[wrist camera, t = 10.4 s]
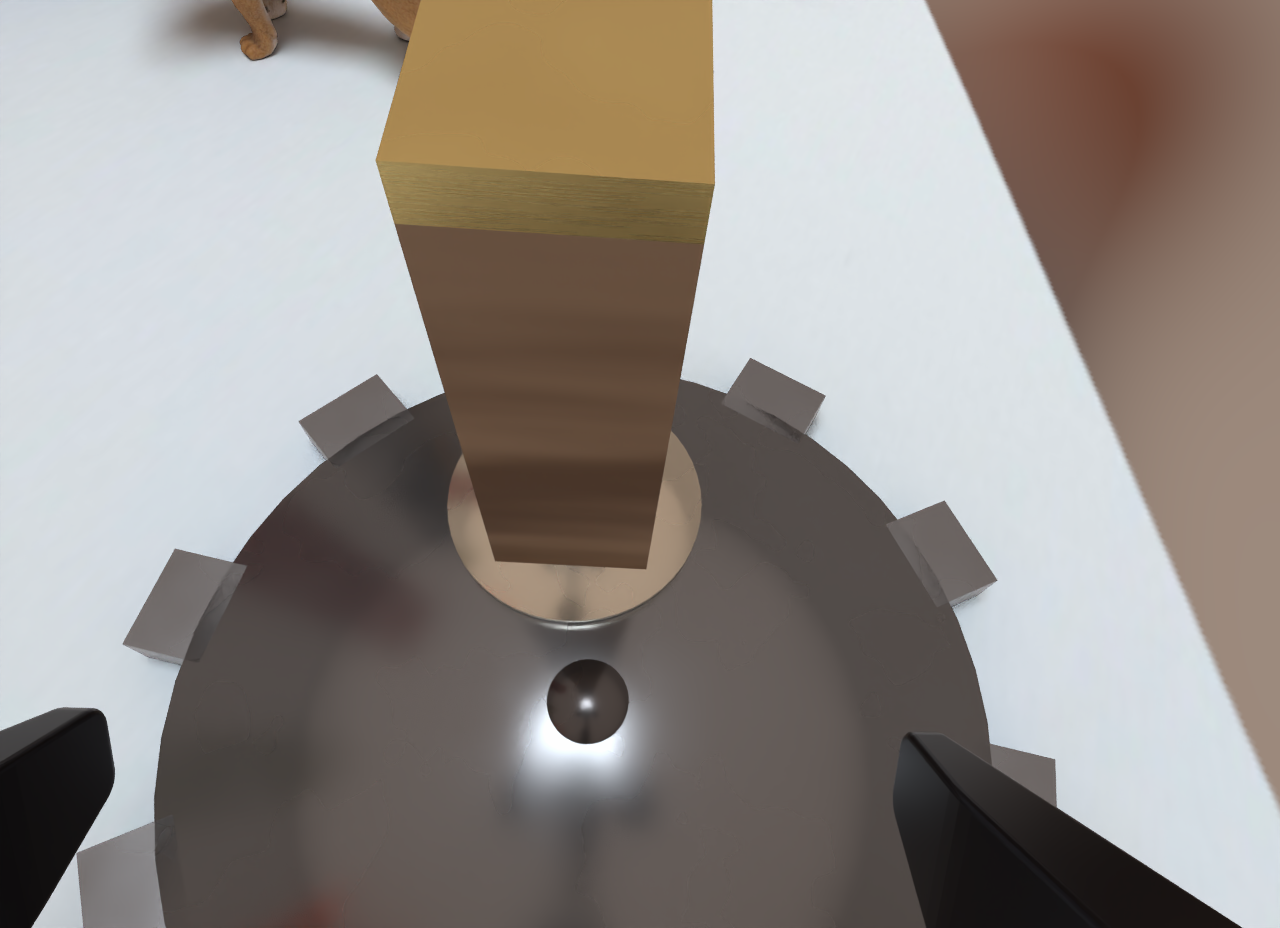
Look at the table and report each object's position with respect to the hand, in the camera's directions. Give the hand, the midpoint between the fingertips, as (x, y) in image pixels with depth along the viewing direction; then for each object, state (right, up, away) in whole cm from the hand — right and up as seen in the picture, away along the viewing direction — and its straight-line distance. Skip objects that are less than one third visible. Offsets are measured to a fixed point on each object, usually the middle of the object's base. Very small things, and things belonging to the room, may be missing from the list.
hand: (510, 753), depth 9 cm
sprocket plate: (0, -3, +11) cm, 12 cm away
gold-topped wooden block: (0, +2, +13) cm, 13 cm away
